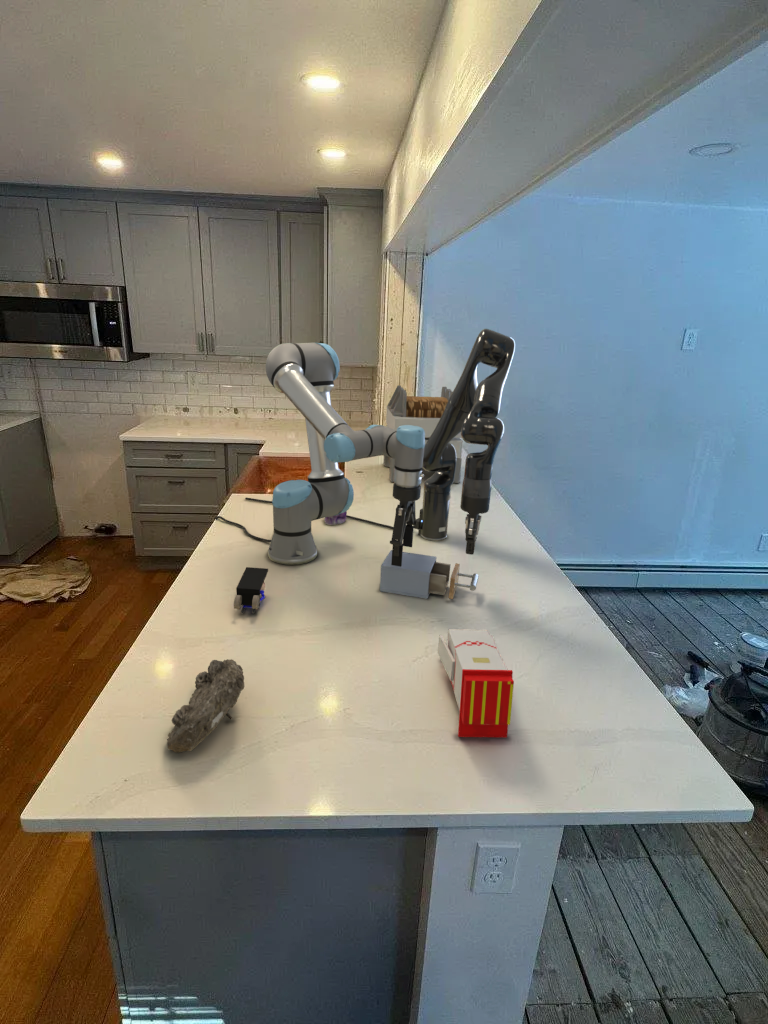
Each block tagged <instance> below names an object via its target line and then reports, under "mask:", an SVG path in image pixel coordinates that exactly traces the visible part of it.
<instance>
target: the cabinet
mask: <svg viewBox="0 0 768 1024" xmlns="http://www.w3.org/2000/svg"><path fill="white" fill-rule="evenodd" d="M435 562H437V556H435V555H428V554H421V553H415V552H409V551H408V552H407V551H403V554H402V566H401V567H400V566H394V565H391V563H392V549H390V550H389V552H388V554H387V555H386V557H385V558H384V560H383V562H382V563H381V564H380V578H379V580H380V581H379V592H383V593H390V594H396V595H401V596H408V597H414V598H420V599H424V600H425V599H428V598H429V596H430V594H431V593H428V591H429V578H430V572H431V570H432V568H433V566H434V563H435Z"/></svg>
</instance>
